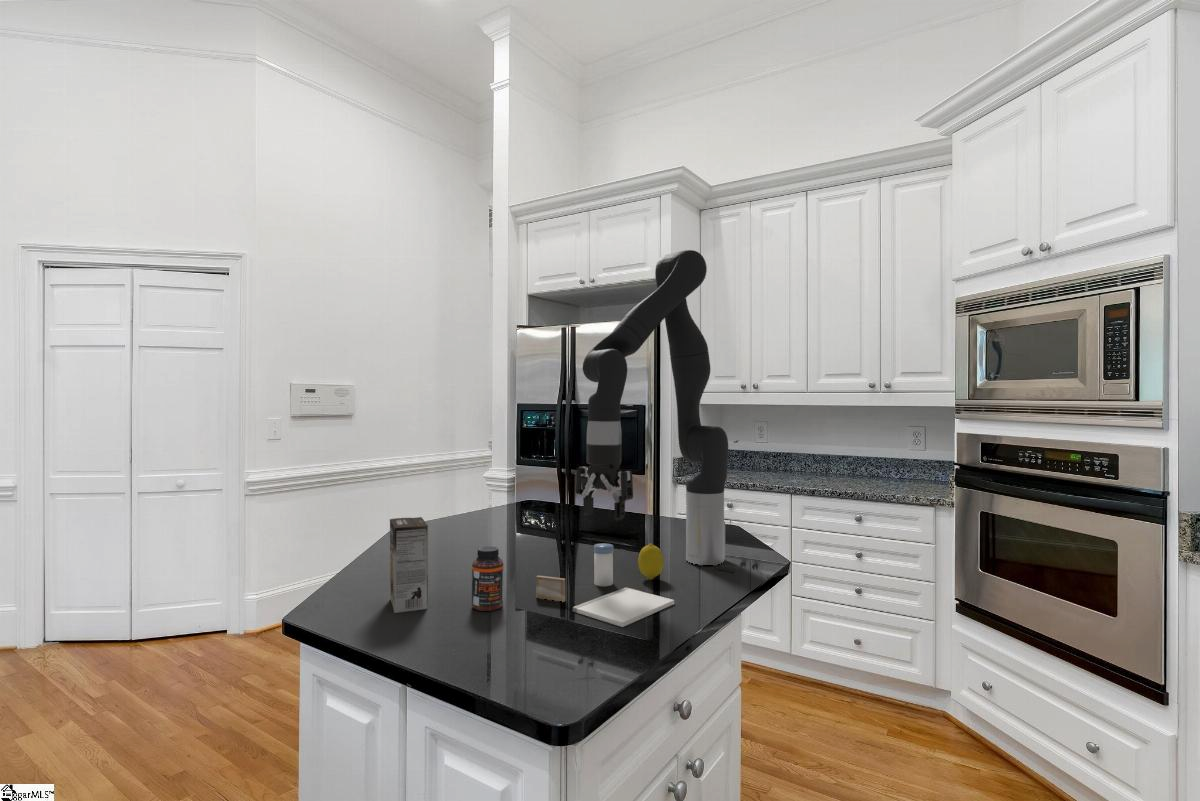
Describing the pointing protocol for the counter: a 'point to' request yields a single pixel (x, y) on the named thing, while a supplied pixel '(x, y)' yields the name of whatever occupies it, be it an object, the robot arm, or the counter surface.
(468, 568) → the counter surface
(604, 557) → the white blue capped bottle
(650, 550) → the lemon
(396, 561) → the coffee box
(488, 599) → the supplement bottle
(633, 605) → the paper pad
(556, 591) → the word sign
